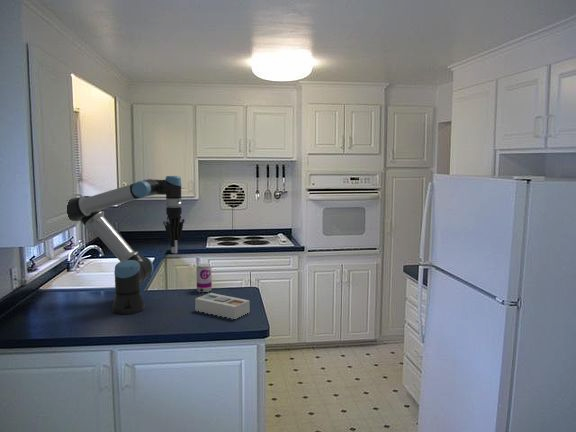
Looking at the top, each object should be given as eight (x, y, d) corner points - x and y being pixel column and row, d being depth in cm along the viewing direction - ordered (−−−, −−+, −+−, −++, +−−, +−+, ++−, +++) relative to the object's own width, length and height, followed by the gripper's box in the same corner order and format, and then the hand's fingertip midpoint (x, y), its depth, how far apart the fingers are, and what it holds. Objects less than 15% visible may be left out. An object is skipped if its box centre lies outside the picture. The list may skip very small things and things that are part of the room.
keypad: (234, 319, 225) (234, 307, 224) (195, 310, 237) (195, 298, 236) (249, 312, 235) (249, 300, 234) (211, 304, 247) (211, 292, 246)
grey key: (223, 309, 232) (223, 301, 231) (214, 307, 234) (214, 299, 234) (230, 306, 236) (230, 298, 236) (221, 304, 239) (221, 296, 239)
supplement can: (212, 292, 268) (212, 266, 266) (197, 293, 266) (197, 267, 264) (210, 288, 276) (210, 263, 274) (196, 289, 274) (195, 263, 272)
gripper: (170, 208, 235) (170, 255, 238) (188, 206, 246) (188, 251, 249) (158, 207, 239) (159, 254, 242) (177, 205, 250) (178, 249, 253)
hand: (174, 252), depth 245 cm, fingers closed
